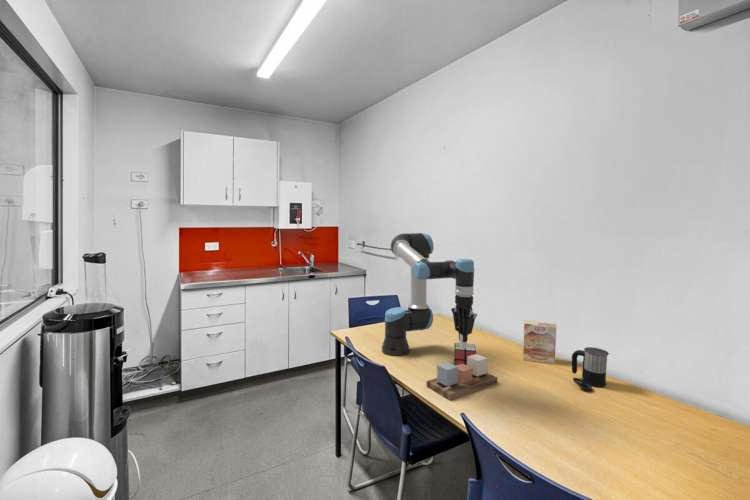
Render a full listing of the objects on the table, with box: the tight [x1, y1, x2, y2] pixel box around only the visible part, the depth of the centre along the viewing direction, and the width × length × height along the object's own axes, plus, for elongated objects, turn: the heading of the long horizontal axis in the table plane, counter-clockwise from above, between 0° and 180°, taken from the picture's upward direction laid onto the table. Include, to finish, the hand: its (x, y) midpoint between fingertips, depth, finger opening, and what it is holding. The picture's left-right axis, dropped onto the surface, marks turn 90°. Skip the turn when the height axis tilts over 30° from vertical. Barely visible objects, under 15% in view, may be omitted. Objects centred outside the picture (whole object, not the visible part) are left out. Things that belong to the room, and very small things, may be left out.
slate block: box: [436, 361, 458, 387], centre depth 154 cm, size 6×6×7 cm
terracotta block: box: [456, 364, 474, 384], centre depth 159 cm, size 6×6×7 cm
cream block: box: [467, 353, 488, 377], centre depth 163 cm, size 6×6×7 cm
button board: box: [426, 372, 498, 401], centre depth 159 cm, size 14×29×2 cm, turn 122°
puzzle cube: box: [453, 342, 477, 366], centre depth 179 cm, size 10×10×10 cm
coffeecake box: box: [522, 319, 557, 365], centre depth 186 cm, size 15×7×20 cm, turn 68°
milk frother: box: [571, 346, 610, 392], centre depth 158 cm, size 14×16×15 cm
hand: (462, 348), depth 158 cm, fingers closed
